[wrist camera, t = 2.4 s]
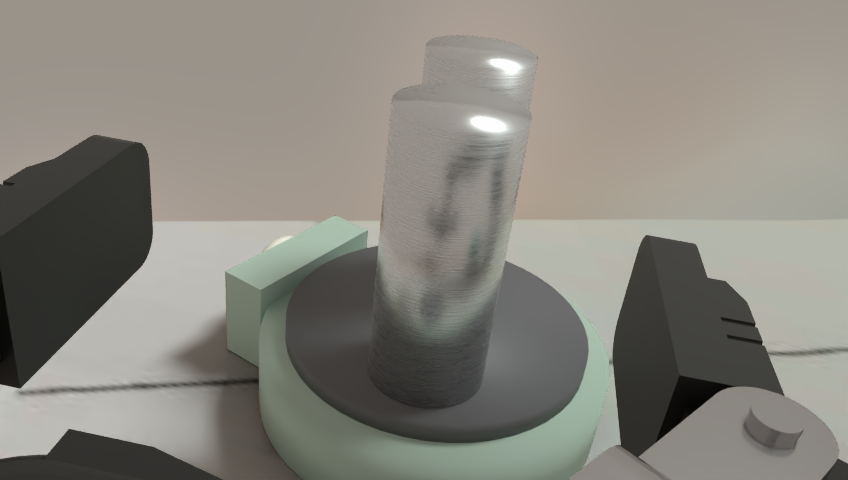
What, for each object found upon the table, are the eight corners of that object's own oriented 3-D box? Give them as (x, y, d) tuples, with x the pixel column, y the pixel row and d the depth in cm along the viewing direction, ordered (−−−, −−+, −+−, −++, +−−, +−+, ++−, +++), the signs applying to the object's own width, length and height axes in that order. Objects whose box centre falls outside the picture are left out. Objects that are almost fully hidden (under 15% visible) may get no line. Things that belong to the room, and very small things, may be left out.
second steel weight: (514, 276, 34) (557, 55, 29) (464, 317, 31) (504, 76, 26) (435, 243, 36) (463, 29, 31) (381, 278, 33) (403, 46, 28)
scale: (642, 382, 34) (665, 310, 33) (488, 603, 24) (508, 515, 22) (365, 255, 42) (370, 189, 40) (152, 382, 31) (145, 301, 29)
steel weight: (503, 366, 28) (555, 110, 23) (442, 427, 25) (487, 146, 20) (411, 321, 30) (441, 75, 25) (343, 372, 27) (362, 103, 22)
